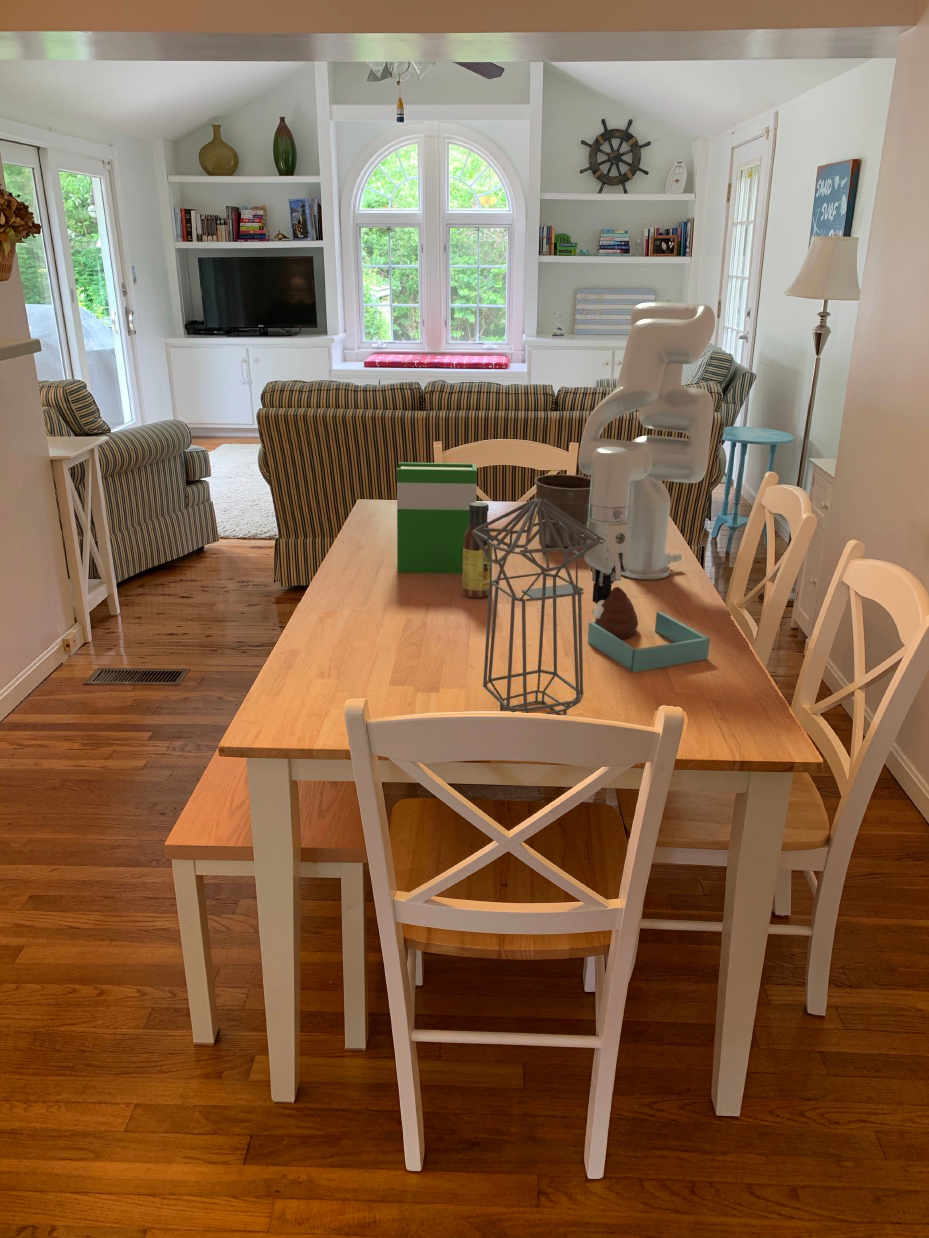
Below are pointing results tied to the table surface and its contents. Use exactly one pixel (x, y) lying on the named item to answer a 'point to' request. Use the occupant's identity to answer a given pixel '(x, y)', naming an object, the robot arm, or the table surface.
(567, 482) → the plant pot
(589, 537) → the geometric lantern
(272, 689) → the table surface
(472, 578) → the sauce bottle
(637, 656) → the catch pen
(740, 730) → the table surface
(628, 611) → the poop emoji
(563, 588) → the mat
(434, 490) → the hardback book
